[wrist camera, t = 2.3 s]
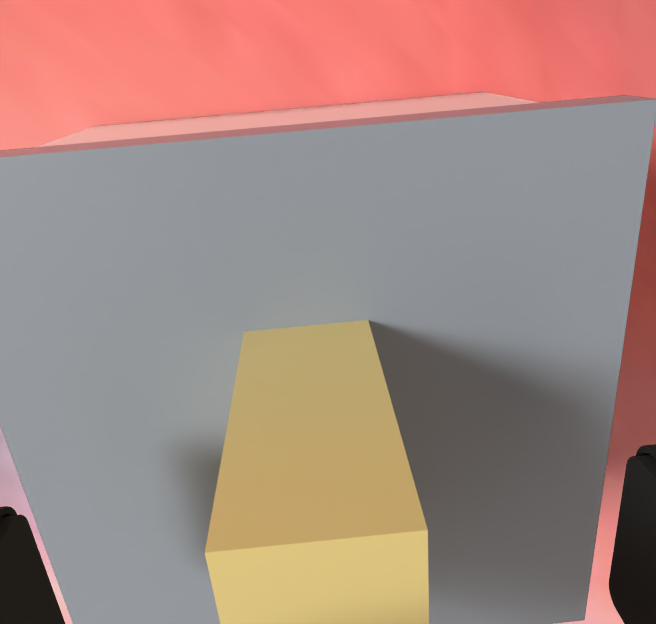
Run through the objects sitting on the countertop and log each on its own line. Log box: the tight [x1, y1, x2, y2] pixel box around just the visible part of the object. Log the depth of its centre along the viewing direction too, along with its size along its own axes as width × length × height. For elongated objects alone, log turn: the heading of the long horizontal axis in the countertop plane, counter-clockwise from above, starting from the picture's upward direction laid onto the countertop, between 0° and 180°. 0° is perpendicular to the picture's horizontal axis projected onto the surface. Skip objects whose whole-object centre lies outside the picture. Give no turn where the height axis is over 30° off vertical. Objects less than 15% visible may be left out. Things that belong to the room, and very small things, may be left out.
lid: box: [0, 95, 656, 624], centre depth 10 cm, size 12×12×7 cm
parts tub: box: [37, 92, 540, 147], centre depth 15 cm, size 11×11×7 cm
